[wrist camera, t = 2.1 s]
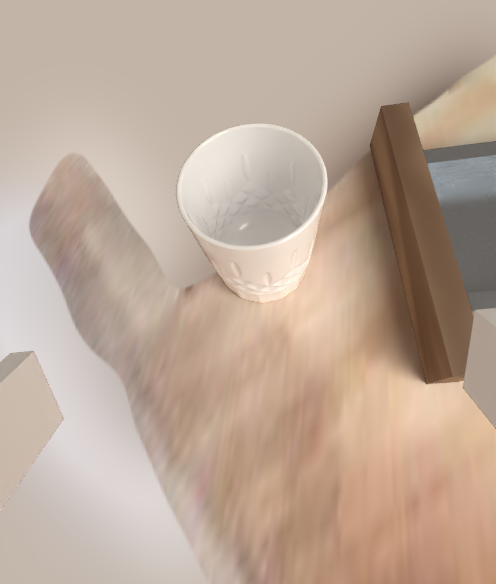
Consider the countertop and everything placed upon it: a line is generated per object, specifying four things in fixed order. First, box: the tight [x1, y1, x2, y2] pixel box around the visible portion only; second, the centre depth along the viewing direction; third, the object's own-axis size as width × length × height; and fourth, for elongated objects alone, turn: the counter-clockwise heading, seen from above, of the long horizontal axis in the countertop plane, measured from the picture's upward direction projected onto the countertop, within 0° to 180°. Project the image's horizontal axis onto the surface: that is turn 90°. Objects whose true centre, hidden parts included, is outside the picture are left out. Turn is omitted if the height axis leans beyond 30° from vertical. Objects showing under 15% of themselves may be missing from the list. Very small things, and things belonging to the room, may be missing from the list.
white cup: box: [176, 123, 327, 303], centre depth 23 cm, size 8×8×10 cm
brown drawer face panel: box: [370, 103, 474, 384], centre depth 25 cm, size 2×20×4 cm, turn 4°
